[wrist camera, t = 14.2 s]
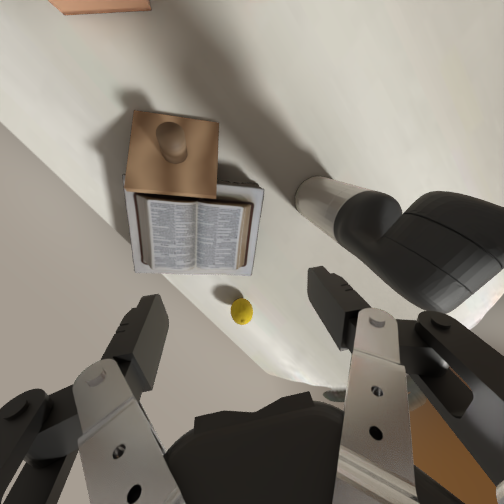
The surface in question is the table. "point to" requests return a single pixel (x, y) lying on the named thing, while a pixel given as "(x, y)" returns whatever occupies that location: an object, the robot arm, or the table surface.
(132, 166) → the lid
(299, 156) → the table surface
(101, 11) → the dish
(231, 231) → the bible
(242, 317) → the lemon
